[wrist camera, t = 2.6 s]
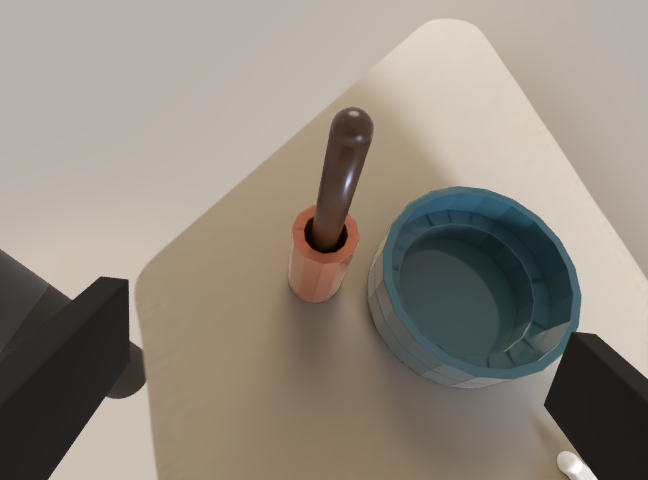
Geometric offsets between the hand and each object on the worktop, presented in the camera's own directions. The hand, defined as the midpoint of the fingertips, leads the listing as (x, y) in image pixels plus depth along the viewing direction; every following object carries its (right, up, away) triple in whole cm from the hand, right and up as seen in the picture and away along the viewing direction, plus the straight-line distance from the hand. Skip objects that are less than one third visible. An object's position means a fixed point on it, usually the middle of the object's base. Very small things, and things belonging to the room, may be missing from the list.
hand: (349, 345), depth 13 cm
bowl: (+11, -2, +25) cm, 28 cm away
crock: (-2, 0, +25) cm, 25 cm away
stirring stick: (-2, 0, +24) cm, 24 cm away
